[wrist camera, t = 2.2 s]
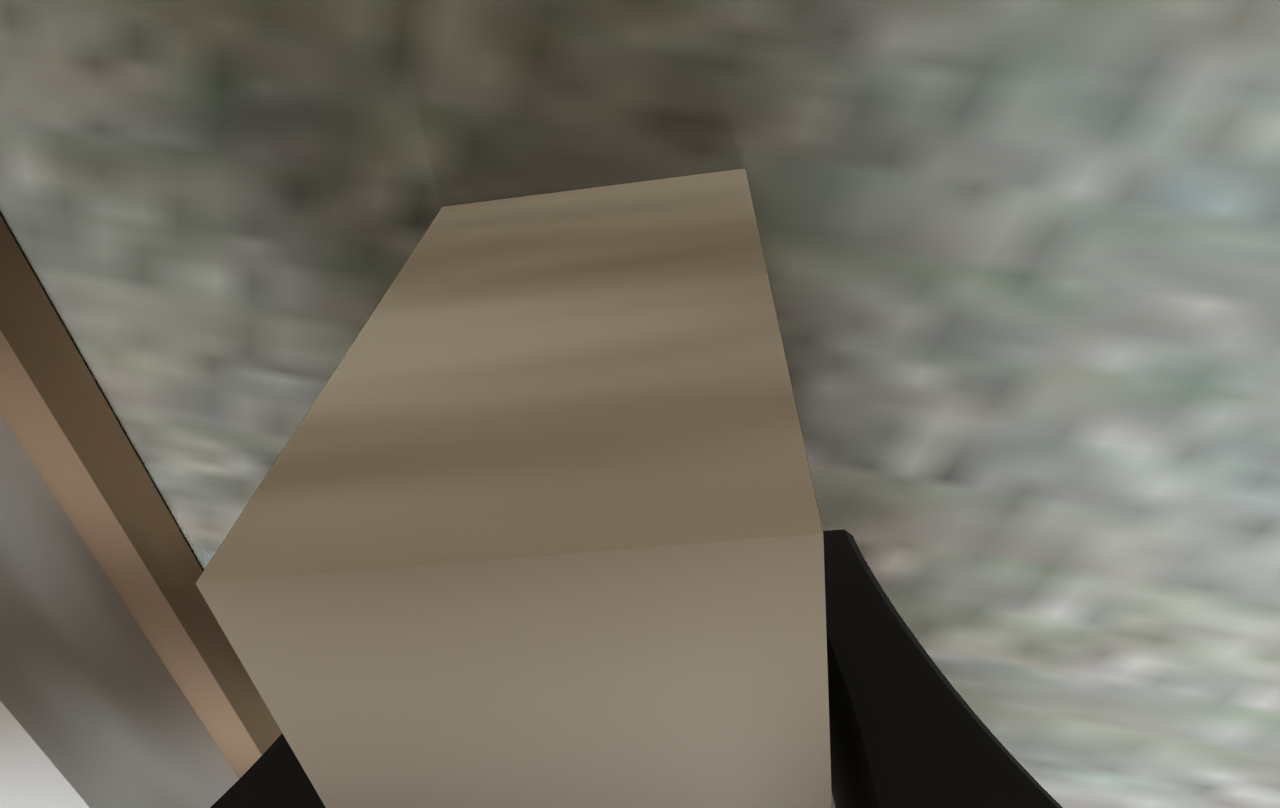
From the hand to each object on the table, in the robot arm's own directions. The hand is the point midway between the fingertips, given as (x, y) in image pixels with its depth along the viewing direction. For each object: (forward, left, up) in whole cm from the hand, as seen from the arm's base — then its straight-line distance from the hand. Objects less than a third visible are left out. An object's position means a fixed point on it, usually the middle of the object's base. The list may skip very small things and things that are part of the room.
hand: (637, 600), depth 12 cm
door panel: (0, 0, -2) cm, 2 cm away
